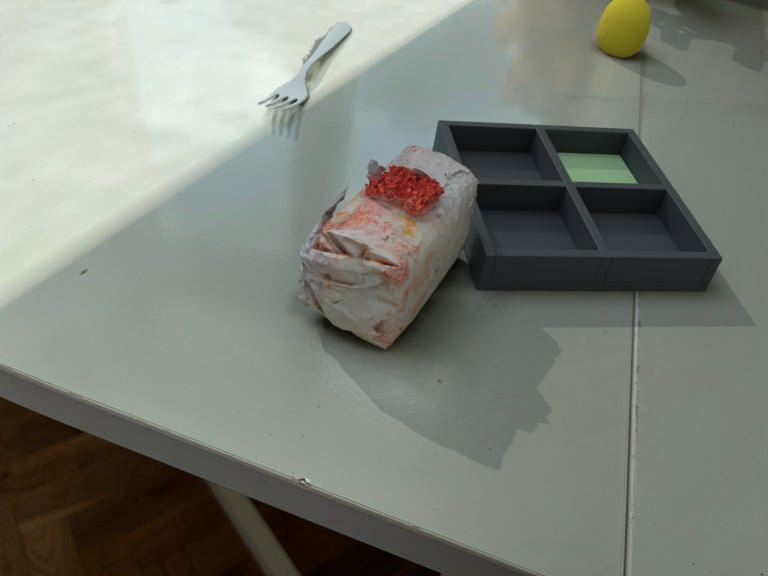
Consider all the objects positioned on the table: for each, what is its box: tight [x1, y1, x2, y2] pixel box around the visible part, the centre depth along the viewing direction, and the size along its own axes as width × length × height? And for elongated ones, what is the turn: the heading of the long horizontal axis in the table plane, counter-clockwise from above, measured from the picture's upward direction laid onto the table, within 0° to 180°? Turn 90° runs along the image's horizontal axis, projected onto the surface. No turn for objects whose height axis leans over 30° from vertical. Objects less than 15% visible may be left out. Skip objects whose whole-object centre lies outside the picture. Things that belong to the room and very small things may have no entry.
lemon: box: [596, 0, 652, 59], centre depth 88 cm, size 6×6×8 cm
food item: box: [297, 144, 479, 350], centre depth 53 cm, size 14×8×10 cm, turn 153°
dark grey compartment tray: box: [431, 119, 723, 292], centre depth 64 cm, size 18×18×3 cm
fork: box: [257, 22, 352, 112], centre depth 79 cm, size 3×24×2 cm, turn 165°
